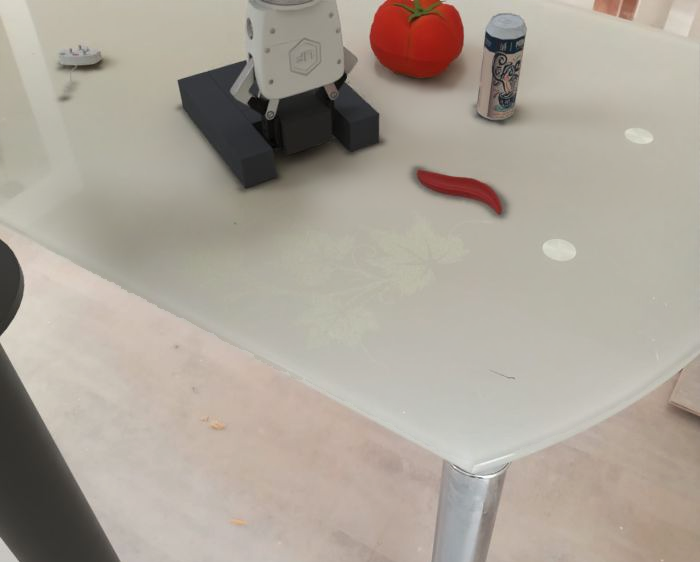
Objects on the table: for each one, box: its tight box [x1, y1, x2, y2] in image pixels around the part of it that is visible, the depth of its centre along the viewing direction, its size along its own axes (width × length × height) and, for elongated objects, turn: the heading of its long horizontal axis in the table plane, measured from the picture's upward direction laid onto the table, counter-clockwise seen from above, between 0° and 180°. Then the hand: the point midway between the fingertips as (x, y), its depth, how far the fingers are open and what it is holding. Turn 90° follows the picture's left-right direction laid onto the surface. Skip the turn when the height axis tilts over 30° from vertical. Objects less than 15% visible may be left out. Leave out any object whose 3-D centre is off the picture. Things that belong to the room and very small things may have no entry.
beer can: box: [476, 12, 528, 121], centre depth 94 cm, size 5×5×12 cm
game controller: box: [57, 44, 103, 99], centre depth 106 cm, size 6×12×3 cm, turn 16°
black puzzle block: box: [276, 91, 333, 156], centre depth 91 cm, size 6×7×4 cm
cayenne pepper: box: [416, 168, 503, 215], centre depth 88 cm, size 12×5×2 cm, turn 41°
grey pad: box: [177, 59, 380, 189], centre depth 96 cm, size 18×20×4 cm
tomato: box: [368, 0, 465, 79], centre depth 103 cm, size 14×13×9 cm
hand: (299, 132), depth 92 cm, fingers closed on black puzzle block, 6 cm apart
